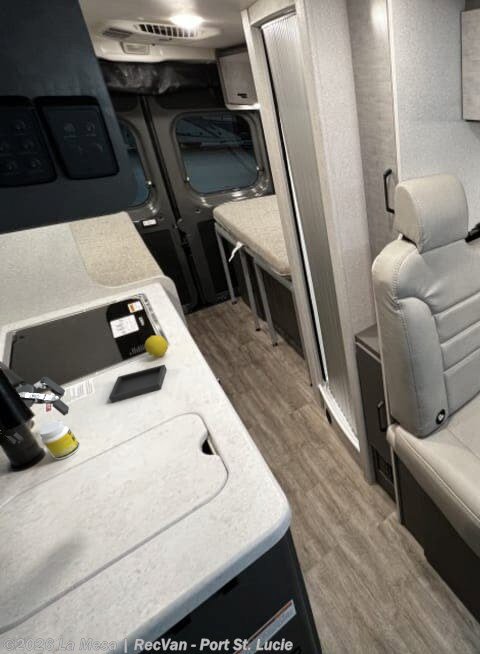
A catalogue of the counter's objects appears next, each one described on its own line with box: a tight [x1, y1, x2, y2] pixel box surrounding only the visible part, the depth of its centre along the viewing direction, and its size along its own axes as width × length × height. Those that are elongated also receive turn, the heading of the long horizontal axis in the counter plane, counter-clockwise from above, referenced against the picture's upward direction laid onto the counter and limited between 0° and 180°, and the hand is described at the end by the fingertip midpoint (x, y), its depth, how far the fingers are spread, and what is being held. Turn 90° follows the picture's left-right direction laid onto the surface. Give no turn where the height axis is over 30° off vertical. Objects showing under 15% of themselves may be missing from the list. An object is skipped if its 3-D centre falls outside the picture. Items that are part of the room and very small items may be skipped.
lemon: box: [144, 335, 169, 357], centre depth 123 cm, size 6×6×8 cm
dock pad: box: [108, 364, 168, 404], centre depth 113 cm, size 12×10×2 cm
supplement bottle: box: [38, 420, 81, 460], centre depth 91 cm, size 5×5×8 cm
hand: (45, 427), depth 91 cm, fingers open, 8 cm apart
